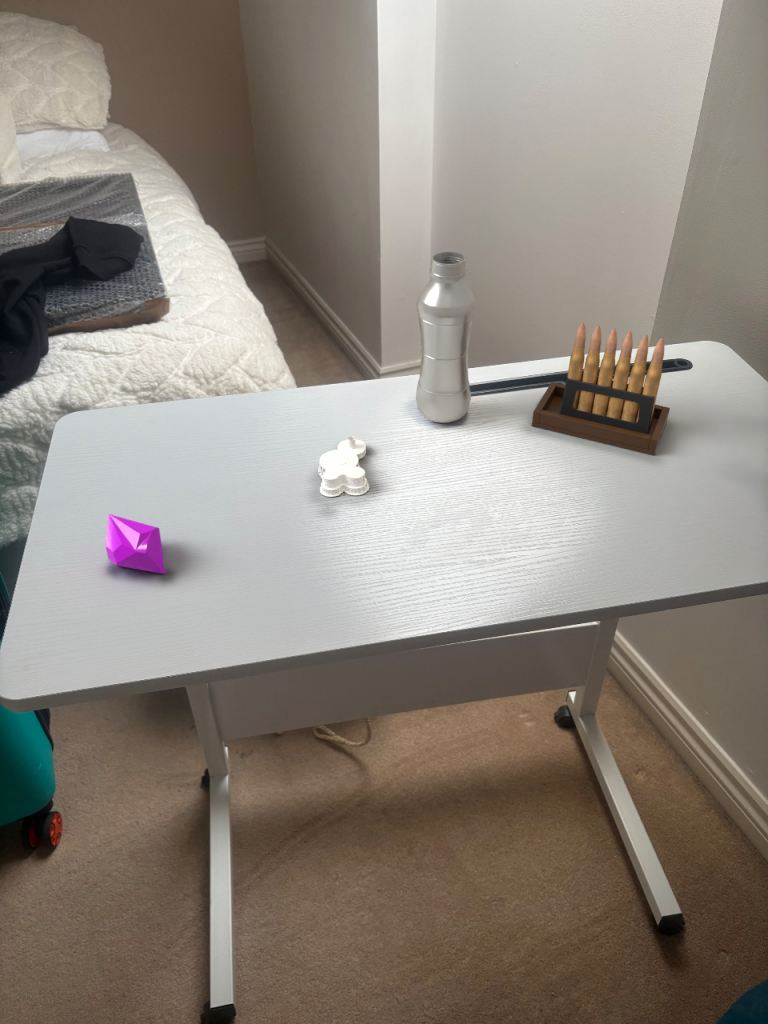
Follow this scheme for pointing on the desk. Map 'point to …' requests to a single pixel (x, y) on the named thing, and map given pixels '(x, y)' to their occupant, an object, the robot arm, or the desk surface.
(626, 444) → the tray
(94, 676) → the desk surface
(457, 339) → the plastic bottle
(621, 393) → the ammunition clip
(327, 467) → the white lobed figurine
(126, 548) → the crystal
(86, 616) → the desk surface
